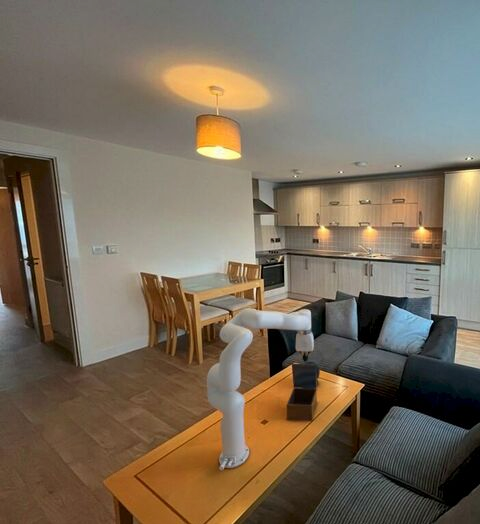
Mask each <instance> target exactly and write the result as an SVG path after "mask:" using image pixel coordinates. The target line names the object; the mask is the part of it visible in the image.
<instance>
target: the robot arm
mask: <svg viewBox="0 0 480 524" xmlns="http://www.w3.org/2000/svg"><path fill="white" fill-rule="evenodd" d="M247 327H249V328H252V329H257V330H266V329H268V330H270V329H271V330H272V329H273V330H275V329H276V330H287V331H288V330H289V331H295V332H297V333H296V337H295V352H297V353H299V354H301V356H302V361H303V362H304V363H306V362H308V360H309V354H311V353H314V352H315V339H314V333H313V332H312V312H311V310H310V309H307V308H303V309H299V310H298V311H292V312H288V313H285V312H282V311H273V310H261V309H260V310H259V309H255V308H250V307H246V308H245V309H242V310H241V311H239V312H238V313H237V314H236V315H234V316H233V317H232V318H231V319H230V320H228V321H227V322H226V323H225V324H224V325H223V326H222V327H221V328H220V331H219V338H220V340H221V341H222V342H224V343H226V344H227V345H226V347H225V348H224V349H223V351H222V352H221V353H220V355H219V360H218V361H219V362H217V363H215V364H213V365H212V366H211V367H210V369H209V370H208V372H207V375H206V393H207V401H208V404H209V406H211V407H212V408H214V409H216V410H217V411H219V412H220V413H221V414H222V418H221V420H220V436H221V448H222V449H221V453H220V455H219V458H218V463H219V467H218V470H219V471H223V470H224V469H233V468H237V467H239V466H240V465H242V464H243V463H245V462H246V461H247V459H248V458H249V455H250V449H249V447H248V446H247V445H246V436H245V421H244V412H245V406H246V399H245V397H244V395H242V393H240V391H238V388H239V387H240V385H241V381H242V372H241V369H242V368H241V359H242V355H243V354H244V352H245V350H246V349H247V348H248V347H250V345H251V343H252V342H253V339H254V334H253V332H252V331H251V329H248V328H247Z"/></svg>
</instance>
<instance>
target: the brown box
mask: <svg viewBox="0 0 480 524" xmlns="http://www.w3.org/2000/svg"><path fill="white" fill-rule="evenodd" d="M317 403H318V389H317V388H314V389H309V388H294V387H293V388H292V391H291V394H290V396H289V398H288V401H287V403H286V420H287V421H304V422H305V421H308V422H311V421H313V418H314V415H315V411H316V408H317Z"/></svg>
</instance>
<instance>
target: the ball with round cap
mask: <svg viewBox="0 0 480 524" xmlns="http://www.w3.org/2000/svg"><path fill="white" fill-rule="evenodd" d="M303 364H316V382H317V387H318V386H319V381H318V379H319V377H320V375H321V374H320V373H321V371H320V367H319V365H318V364H317V363H316V362H313V361H307V362H304V363H303ZM309 389H315V388H309Z"/></svg>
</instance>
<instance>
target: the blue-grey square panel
mask: <svg viewBox="0 0 480 524" xmlns="http://www.w3.org/2000/svg"><path fill="white" fill-rule="evenodd" d="M316 364H317V363H316ZM316 364H304V363H291V372H292V383H293V385H292V386H293V389H294V388H314V389H317V388H318V386H317V382H316Z"/></svg>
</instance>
